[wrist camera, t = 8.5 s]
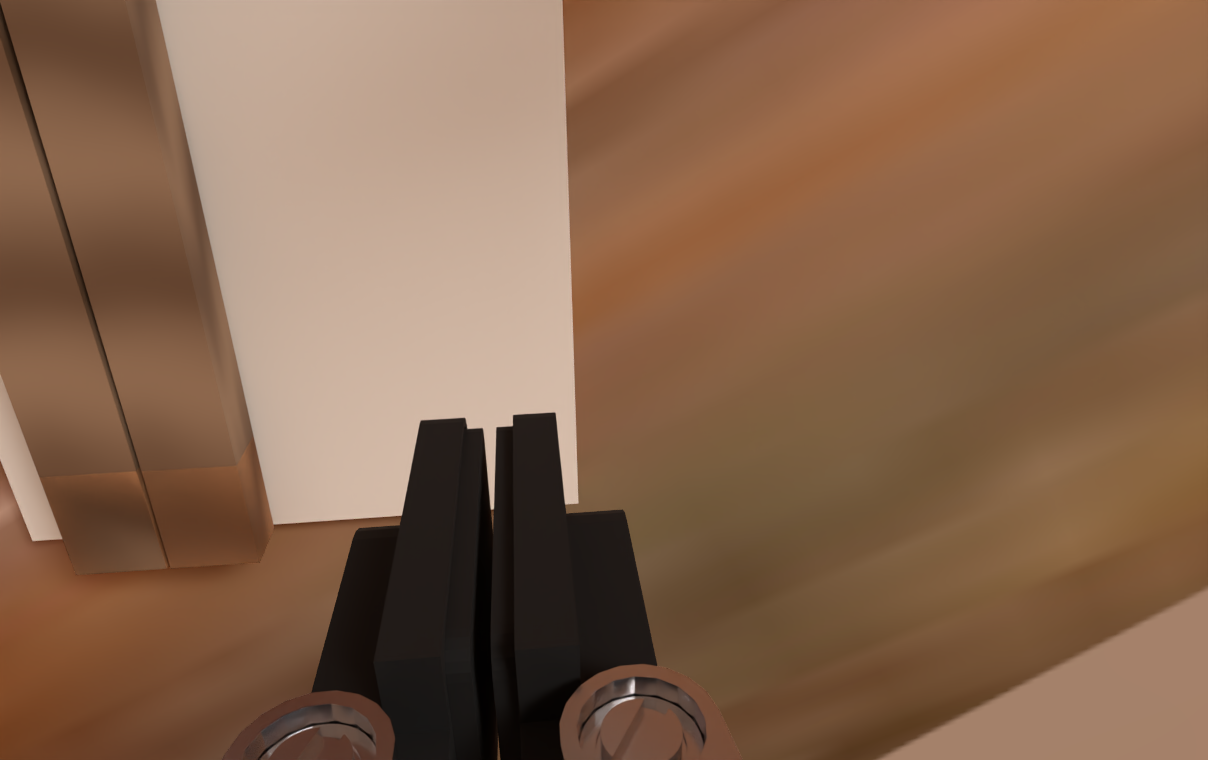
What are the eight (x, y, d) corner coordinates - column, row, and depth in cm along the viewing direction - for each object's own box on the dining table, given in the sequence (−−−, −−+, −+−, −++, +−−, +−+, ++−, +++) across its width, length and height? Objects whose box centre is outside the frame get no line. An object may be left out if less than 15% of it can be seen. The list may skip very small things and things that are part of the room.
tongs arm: (-10, -180, 21) (-59, -195, 19) (115, -180, 21) (78, -193, 19) (190, 533, 30) (170, 568, 29) (274, 528, 31) (259, 562, 29)
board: (-322, -433, 19) (-363, -453, 18) (547, -411, 21) (548, -428, 20) (46, 524, 31) (32, 541, 30) (576, 488, 33) (578, 503, 32)
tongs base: (-229, -420, 19) (-354, -486, 16) (-87, -417, 19) (-186, -481, 16) (104, 536, 30) (65, 590, 28) (188, 530, 31) (158, 583, 28)
